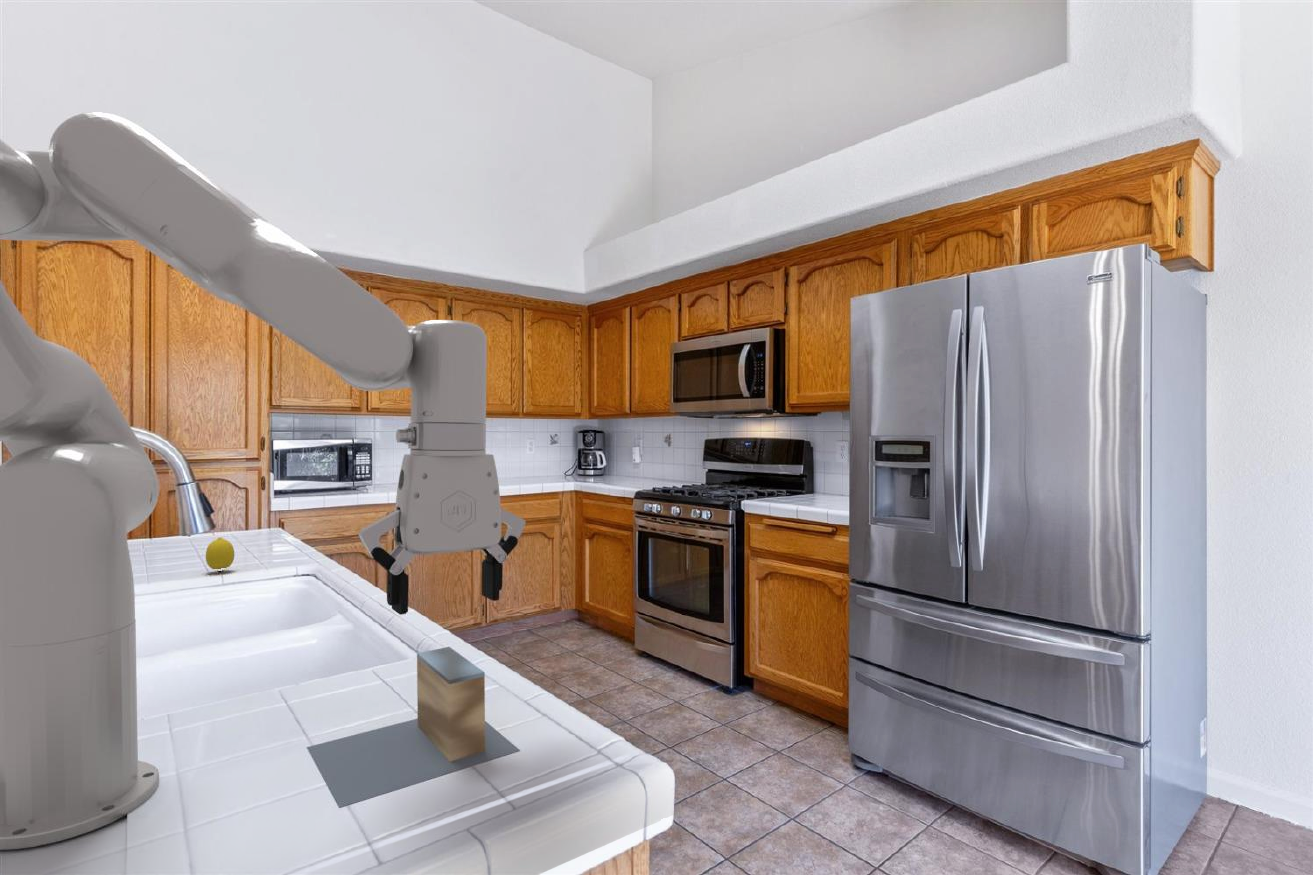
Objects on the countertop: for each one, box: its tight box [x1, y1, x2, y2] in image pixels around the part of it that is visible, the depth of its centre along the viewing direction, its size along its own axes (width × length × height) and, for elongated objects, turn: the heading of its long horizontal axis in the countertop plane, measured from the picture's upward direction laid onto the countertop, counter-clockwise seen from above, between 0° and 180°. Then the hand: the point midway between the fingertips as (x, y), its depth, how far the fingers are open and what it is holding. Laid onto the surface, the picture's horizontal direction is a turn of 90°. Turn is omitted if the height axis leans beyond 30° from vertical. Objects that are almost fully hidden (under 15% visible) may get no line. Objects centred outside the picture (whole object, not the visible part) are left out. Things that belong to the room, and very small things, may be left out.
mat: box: [306, 717, 521, 809], centre depth 70 cm, size 17×14×1 cm
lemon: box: [205, 537, 235, 570], centre depth 156 cm, size 6×6×8 cm
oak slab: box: [416, 646, 486, 762], centre depth 72 cm, size 4×10×8 cm, turn 37°
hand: (446, 604), depth 72 cm, fingers open, 9 cm apart
